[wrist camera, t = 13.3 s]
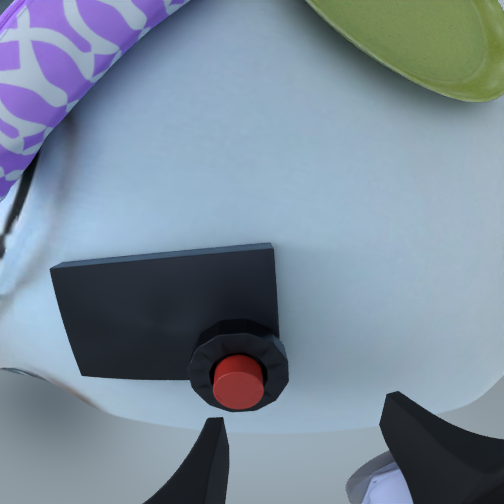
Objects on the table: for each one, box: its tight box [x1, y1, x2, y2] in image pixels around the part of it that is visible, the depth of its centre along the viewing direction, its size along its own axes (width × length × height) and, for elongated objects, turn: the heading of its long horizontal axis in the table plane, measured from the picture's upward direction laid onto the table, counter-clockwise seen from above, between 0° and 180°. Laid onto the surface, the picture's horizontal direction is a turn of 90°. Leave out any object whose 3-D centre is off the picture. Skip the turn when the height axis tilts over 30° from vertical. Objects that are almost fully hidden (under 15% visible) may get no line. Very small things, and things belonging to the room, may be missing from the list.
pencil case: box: [0, 0, 190, 202], centre depth 10 cm, size 22×9×10 cm, turn 135°
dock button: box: [213, 355, 264, 409], centre depth 15 cm, size 3×3×2 cm
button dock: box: [50, 243, 289, 412], centre depth 17 cm, size 14×9×4 cm, turn 95°
